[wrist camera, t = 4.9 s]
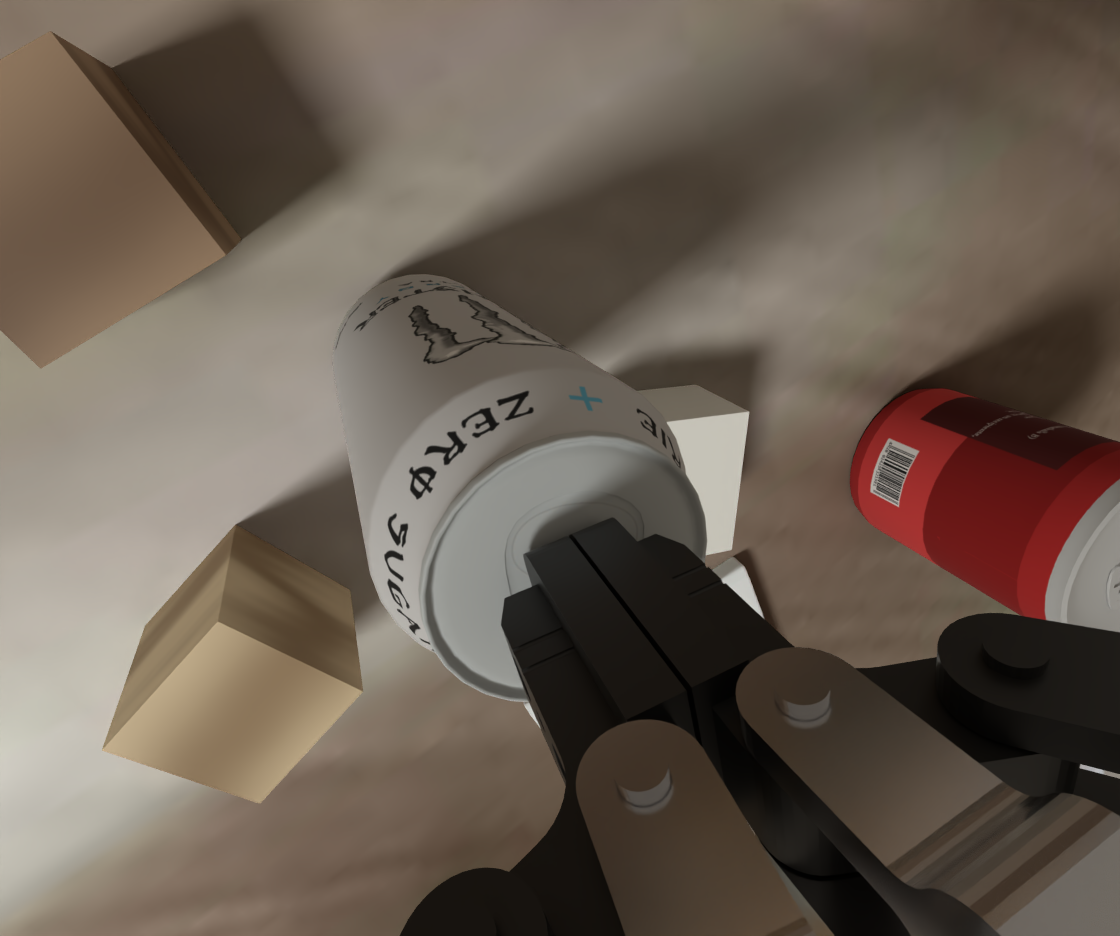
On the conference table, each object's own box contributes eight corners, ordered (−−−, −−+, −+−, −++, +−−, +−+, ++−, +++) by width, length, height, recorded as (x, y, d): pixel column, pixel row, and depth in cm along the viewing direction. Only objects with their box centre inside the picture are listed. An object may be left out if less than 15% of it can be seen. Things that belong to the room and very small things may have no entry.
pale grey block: (562, 397, 26) (602, 429, 22) (693, 383, 28) (749, 411, 24) (561, 529, 28) (597, 577, 25) (682, 508, 30) (731, 549, 27)
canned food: (865, 550, 36) (1070, 683, 26) (826, 443, 32) (1051, 555, 22) (971, 468, 36) (1210, 569, 27) (946, 353, 32) (1217, 424, 23)
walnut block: (-57, 165, 17) (-178, 159, 13) (111, 68, 17) (50, 31, 13) (97, 327, 19) (40, 368, 15) (241, 239, 20) (226, 255, 16)
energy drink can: (507, 276, 23) (772, 394, 10) (496, 435, 25) (703, 699, 12) (328, 264, 21) (376, 395, 8) (333, 439, 23) (378, 763, 10)
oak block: (145, 625, 23) (102, 750, 18) (235, 523, 23) (217, 621, 18) (267, 680, 26) (259, 803, 21) (349, 589, 26) (363, 691, 20)
